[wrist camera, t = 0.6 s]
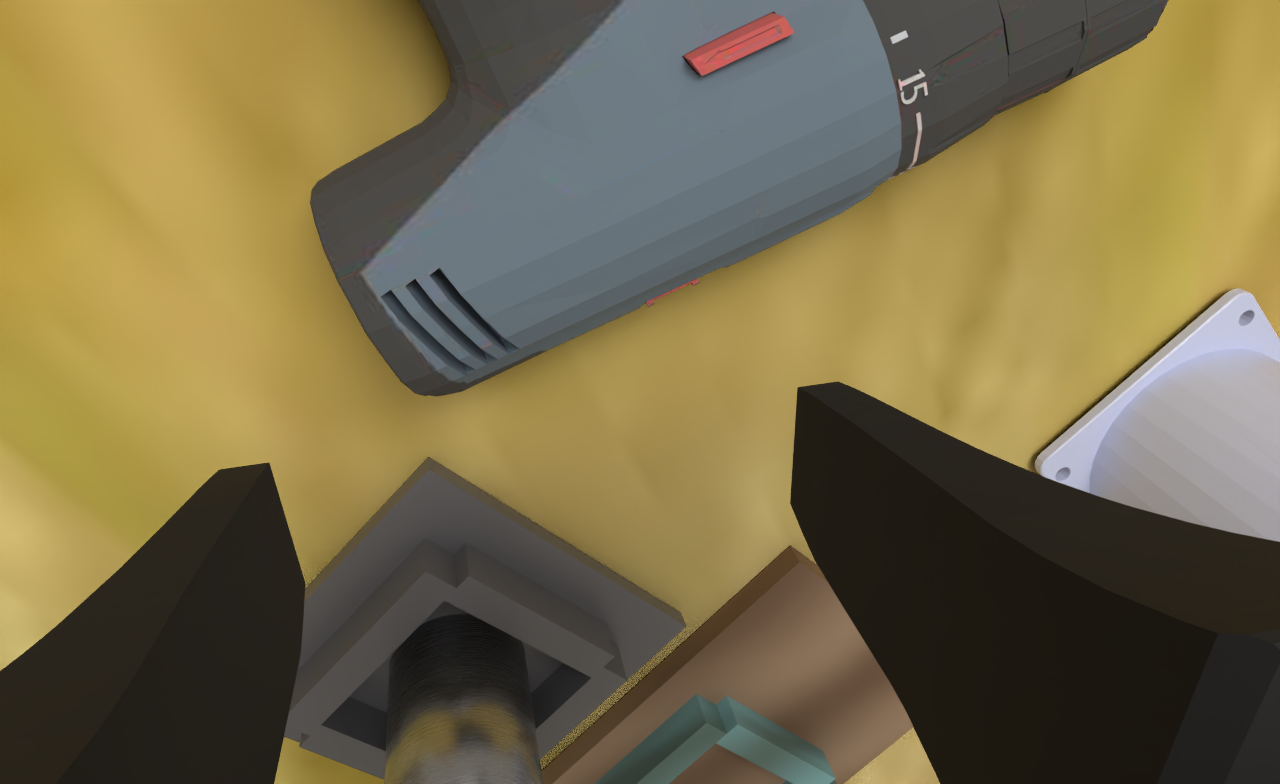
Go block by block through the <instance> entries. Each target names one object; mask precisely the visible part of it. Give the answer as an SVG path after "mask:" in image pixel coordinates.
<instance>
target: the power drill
mask: <svg viewBox="0 0 1280 784" xmlns="http://www.w3.org/2000/svg"><path fill="white" fill-rule="evenodd" d="M418 1H419V3H420V4H421V6H422V8H423V10H424V12H425V14H426V16H427V17H428V19H429V21H430V23H431V25H432V27H433V29H434V31H435V33H436V35H437V38H438V40H439V42H440V45H441V47H442V49H443V52H444V54H445V56H446V59H447V61H448V63H449V71H450V77H451V83H450V86H449V90H448V93H447V97H446V100H445V101H444V102H443V103H442V104H441V105H440V106H439V107H438V108H437V110H435V111H434V112H433V113H432V114H431V115H430V116H429V117H428V118H426V119H425V120H424V121H423V122H422V123H420V124H418V125H416V126H414V127H413V128H411V129H409V130H407V131H405V132H403V133H402V134H400V135H398V136H396V137H394V138H392V139H391V140H389V141H387V142H385V143H383V144H382V145H380V146H378V147H376V148H374V149H372V150H371V151H369V152H367V153H365V154H363V155H361V156H360V157H358V158H356V159H354V160H352V161H351V162H349V163H347V164H345V165H343V166H341V167H340V168H338V169H336V170H334V171H333V172H331V173H330V174H328V175H327V176H325V177H324V178H323V179H321V180H320V181H318V182H317V183H316V185H315V186H314V187H313V189H312V191H311V200H310V204H311V208H312V212H313V217H314V221H315V225H316V228H317V231H318V234H319V237H320V240H321V243H322V246H323V249H324V252H325V254H326V256H327V258H328V261H329V263H330V265H331V267H332V270H333V272H334V274H335V276H336V279H337V281H338V283H339V285H340V287H341V288H342V290H343V292H344V294H345V296H346V298H347V299H348V301H349V303H350V305H351V307H352V309H353V310H354V312H355V314H356V316H357V318H358V320H359V322H360V323H361V325H362V327H363V329H364V331H365V333H366V334H367V336H368V337H369V339H370V340H371V341H372V343H373V344H374V346H375V347H376V348H377V350H378V351H379V353H380V354H381V356H382V357H383V358H384V360H385V361H386V362H387V364H388V365H389V366H390V368H391V369H392V370H393V372H394V373H395V374H396V376H397V377H398V378H399V379H400V381H401V382H402V383H403V384H405V385H406V386H407V387H408V388H409V389H411V390H412V391H413V392H414V393H416V394H419V395H424V396H427V395H431V396H442V395H447V394H452V393H456V392H461V391H464V390H466V389H468V388H470V387H472V386H474V385H476V384H478V383H480V382H482V381H484V380H487V379H489V378H491V377H493V376H495V375H497V374H499V373H501V372H503V371H505V370H507V369H509V368H512V367H514V366H516V365H518V364H520V363H522V362H524V361H526V360H528V359H530V358H532V357H534V356H537V355H539V354H541V353H543V352H545V351H547V350H549V349H551V348H554V347H556V346H558V345H560V344H562V343H564V342H566V341H569V340H571V339H573V338H575V337H577V336H579V335H582V334H584V333H586V332H588V331H590V330H592V329H595V328H597V327H599V326H601V325H603V324H605V323H607V322H610V321H612V320H614V319H616V318H618V317H620V316H623V315H625V314H627V313H629V312H631V311H633V310H636V309H638V308H640V307H641V306H642V305H643V304H644V303H646V304H647V306H651V305H653V304H654V302H653V301H654V300H656V299H658V298H660V297H662V296H664V295H667V294H669V293H671V292H673V291H675V290H677V289H680V288H682V287H684V286H686V285H688V284H690V283H691V284H692V285H693V286H694V285H696V284H698V283H699V280H698V278H699V277H701V276H703V275H705V274H708V273H710V272H712V271H714V270H716V269H718V268H720V267H728V266H730V265H733V264H735V263H737V262H739V261H741V260H743V259H746V258H748V257H750V256H752V255H754V254H756V253H759V252H761V251H763V250H765V249H767V248H769V247H771V246H773V245H775V244H778V243H780V242H782V241H784V240H786V239H788V238H790V237H792V236H794V235H796V234H798V233H800V232H803V231H805V230H807V229H809V228H811V227H813V226H815V225H817V224H819V223H821V222H823V221H826V220H828V219H830V218H832V217H834V216H836V215H838V214H840V213H842V212H844V211H845V210H847V209H848V208H850V207H852V206H853V205H855V204H857V203H858V202H860V201H861V200H863V199H865V198H866V197H868V196H869V195H870V194H871V193H872V191H873V190H874V189H875V187H877V186H878V185H880V184H881V183H883V182H885V181H886V180H888V179H890V178H892V177H894V176H897V175H899V174H901V173H903V172H905V171H907V170H910V169H912V168H914V167H916V166H918V165H920V164H922V163H925V162H926V161H928V160H930V159H931V158H933V157H934V156H936V155H937V154H939V153H941V152H942V151H944V150H945V149H947V148H948V147H950V146H952V145H953V144H955V143H956V142H958V141H959V140H961V139H963V138H964V137H966V136H967V135H969V134H971V133H972V132H974V131H975V130H977V129H978V128H980V127H982V126H983V125H984V124H986V123H987V122H988V121H989V120H990V119H991V118H992V117H993V116H994V115H997V114H999V113H1001V112H1003V111H1005V110H1007V109H1009V108H1012V107H1014V106H1016V105H1018V104H1020V103H1022V102H1025V101H1027V100H1029V99H1031V98H1033V97H1035V96H1038V95H1040V94H1042V93H1046V92H1048V91H1050V90H1052V89H1053V88H1055V87H1056V86H1058V85H1060V84H1062V83H1064V82H1066V81H1068V80H1070V79H1072V78H1074V77H1076V76H1077V75H1079V74H1081V73H1083V72H1085V71H1087V70H1089V69H1091V68H1093V67H1095V66H1097V65H1099V64H1101V63H1103V62H1104V61H1106V60H1108V59H1110V58H1112V57H1114V56H1116V55H1118V54H1120V53H1122V52H1124V51H1126V50H1128V49H1129V48H1131V47H1133V46H1134V45H1136V44H1137V43H1139V42H1141V41H1142V40H1144V39H1145V38H1147V35H1148V34H1149V33H1150V32H1151V31H1152V30H1153V28H1154V26H1156V25H1157V23H1158V20H1159V18H1160V16H1161V14H1162V12H1163V10H1164V8H1165V6H1166V4H1167V2H1168V0H418Z"/></svg>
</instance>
